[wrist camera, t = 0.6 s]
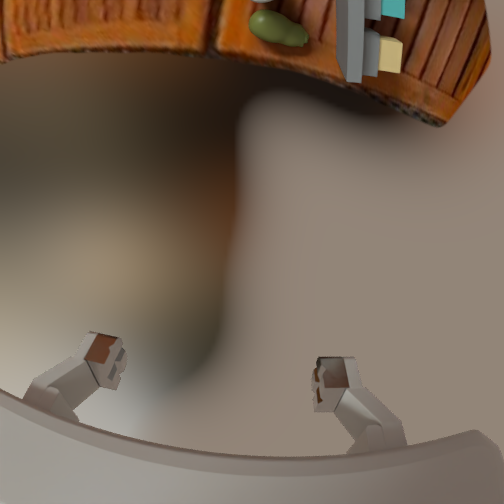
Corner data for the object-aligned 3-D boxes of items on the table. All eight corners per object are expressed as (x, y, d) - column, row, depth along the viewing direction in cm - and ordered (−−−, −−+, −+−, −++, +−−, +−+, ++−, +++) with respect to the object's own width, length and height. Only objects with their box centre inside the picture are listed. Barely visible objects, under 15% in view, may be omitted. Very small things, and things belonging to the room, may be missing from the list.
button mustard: (366, 33, 35) (372, 38, 31) (393, 37, 34) (402, 43, 31) (364, 61, 38) (371, 68, 35) (391, 64, 38) (399, 73, 35)
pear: (257, 6, 33) (317, 31, 37) (256, 3, 36) (311, 25, 40) (243, 35, 38) (301, 58, 41) (243, 29, 41) (296, 50, 44)
